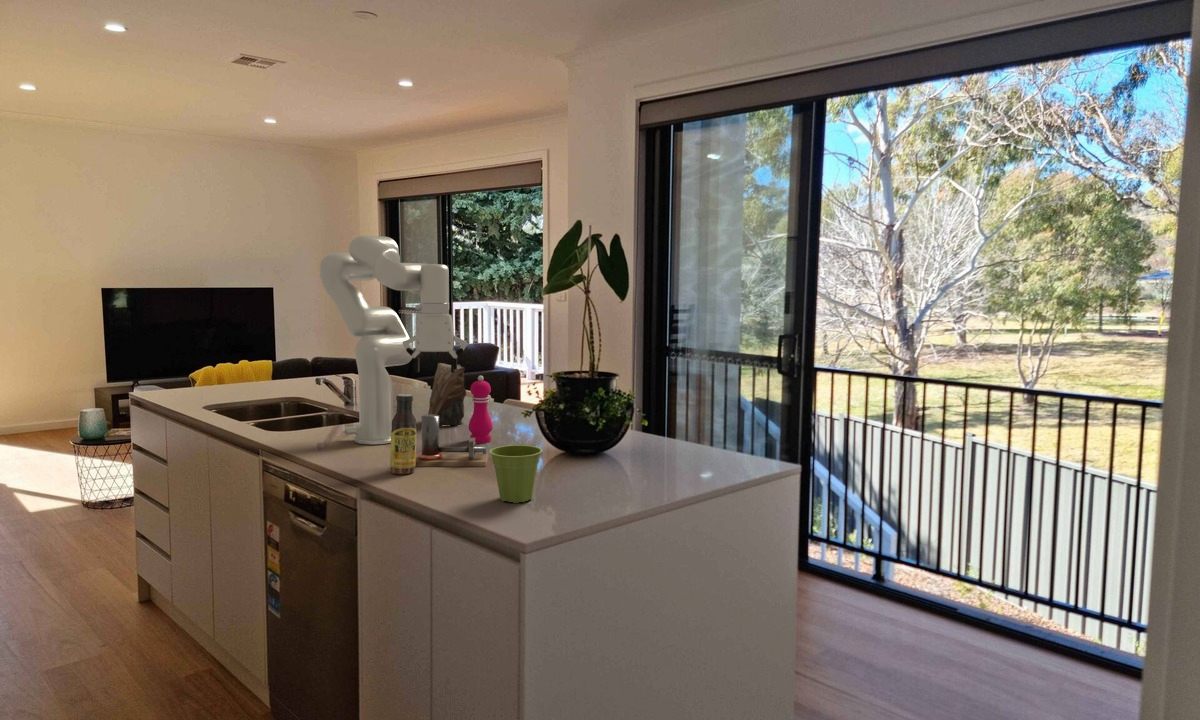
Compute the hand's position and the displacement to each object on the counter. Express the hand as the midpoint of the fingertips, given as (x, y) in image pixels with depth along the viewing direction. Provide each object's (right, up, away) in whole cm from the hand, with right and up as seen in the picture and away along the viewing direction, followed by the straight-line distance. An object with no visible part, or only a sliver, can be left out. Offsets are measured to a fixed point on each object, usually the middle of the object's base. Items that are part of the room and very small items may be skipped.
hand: (435, 372), depth 215 cm
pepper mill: (+9, -21, +22) cm, 32 cm away
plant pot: (+26, -28, -38) cm, 54 cm away
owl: (-8, -18, +48) cm, 52 cm away
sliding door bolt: (+6, -23, -5) cm, 24 cm away
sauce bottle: (-5, -25, -17) cm, 31 cm away
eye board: (+4, -24, -5) cm, 25 cm away
